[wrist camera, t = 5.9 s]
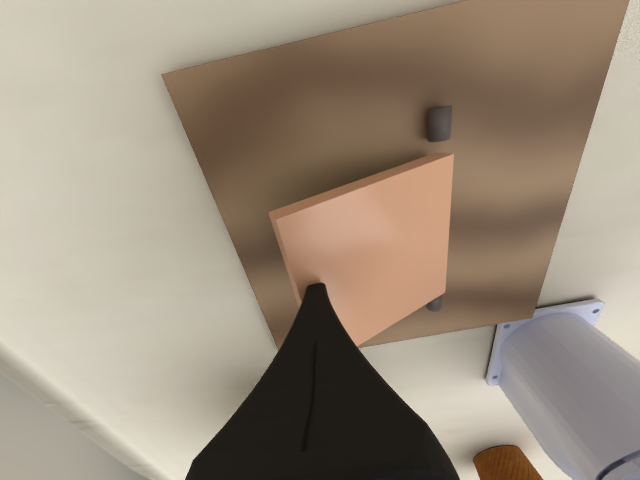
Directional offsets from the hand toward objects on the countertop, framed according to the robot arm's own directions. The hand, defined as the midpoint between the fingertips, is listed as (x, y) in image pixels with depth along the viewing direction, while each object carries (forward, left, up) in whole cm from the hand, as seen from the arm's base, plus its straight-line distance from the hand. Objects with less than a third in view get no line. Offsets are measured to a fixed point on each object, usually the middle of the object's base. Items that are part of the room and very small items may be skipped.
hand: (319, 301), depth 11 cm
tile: (0, -7, -5) cm, 9 cm away
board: (0, -5, -6) cm, 8 cm away
